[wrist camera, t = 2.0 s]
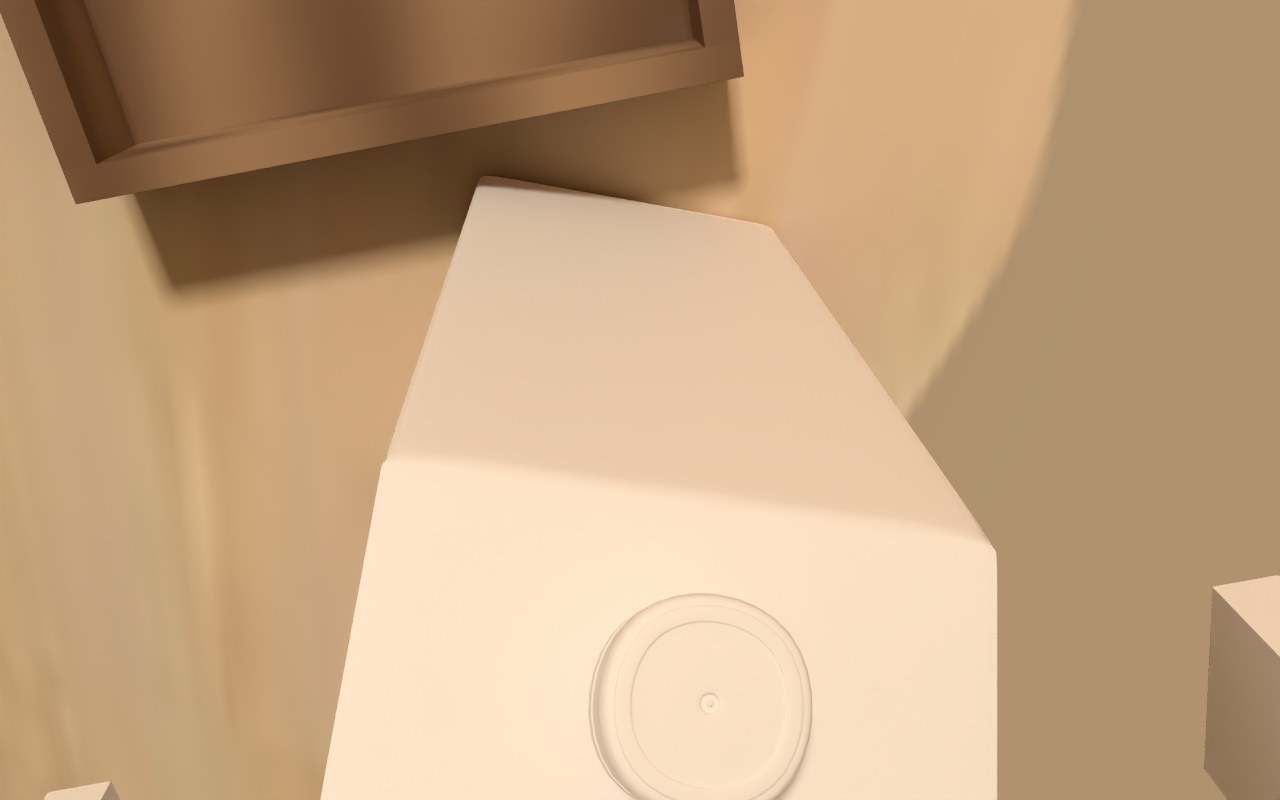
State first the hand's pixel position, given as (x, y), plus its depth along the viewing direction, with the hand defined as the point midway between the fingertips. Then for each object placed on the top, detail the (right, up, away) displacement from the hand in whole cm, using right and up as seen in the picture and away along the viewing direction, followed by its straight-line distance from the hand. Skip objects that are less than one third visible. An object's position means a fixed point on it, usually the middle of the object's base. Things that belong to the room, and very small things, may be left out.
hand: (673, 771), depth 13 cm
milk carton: (-1, +6, +14) cm, 16 cm away
